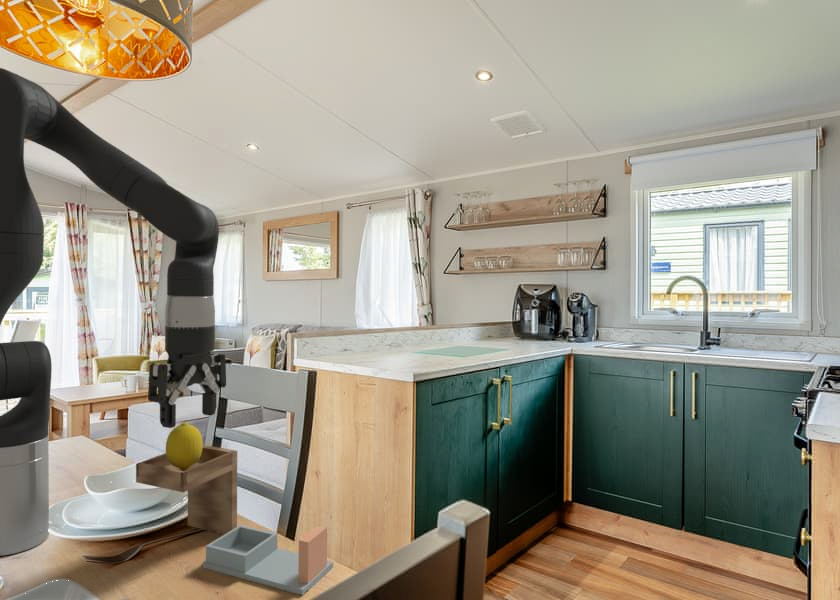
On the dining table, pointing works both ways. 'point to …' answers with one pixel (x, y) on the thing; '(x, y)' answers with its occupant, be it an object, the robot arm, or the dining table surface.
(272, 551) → the grey tray holder base
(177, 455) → the lemon
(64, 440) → the dining table surface
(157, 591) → the dining table surface
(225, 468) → the shelf
